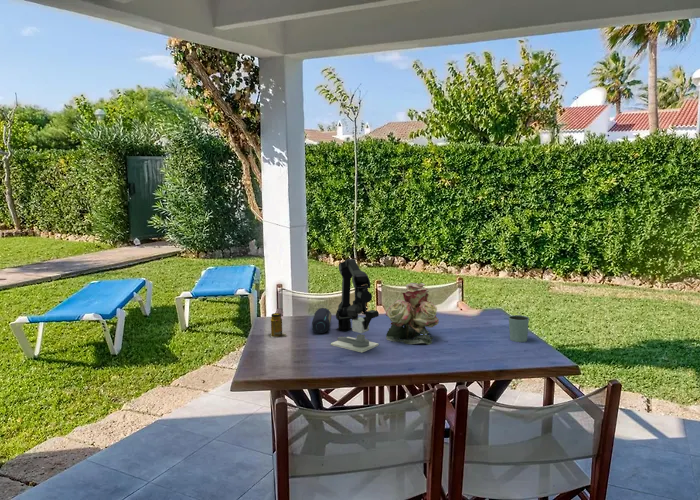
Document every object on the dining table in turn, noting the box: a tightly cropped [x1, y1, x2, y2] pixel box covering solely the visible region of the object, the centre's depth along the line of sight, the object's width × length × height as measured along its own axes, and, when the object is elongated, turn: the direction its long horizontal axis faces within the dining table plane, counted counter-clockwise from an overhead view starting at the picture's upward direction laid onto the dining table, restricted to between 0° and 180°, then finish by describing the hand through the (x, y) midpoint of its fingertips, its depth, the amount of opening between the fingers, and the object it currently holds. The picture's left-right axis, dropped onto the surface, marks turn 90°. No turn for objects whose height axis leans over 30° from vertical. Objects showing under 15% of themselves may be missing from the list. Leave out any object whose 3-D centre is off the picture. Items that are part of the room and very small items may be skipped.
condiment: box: [269, 312, 288, 338], centre depth 292 cm, size 7×8×12 cm
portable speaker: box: [311, 307, 332, 334], centre depth 304 cm, size 25×10×10 cm, turn 179°
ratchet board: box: [330, 333, 379, 354], centre depth 273 cm, size 20×14×6 cm
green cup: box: [508, 314, 530, 343], centre depth 279 cm, size 10×10×12 cm
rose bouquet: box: [385, 282, 440, 346], centre depth 283 cm, size 26×29×30 cm
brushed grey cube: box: [351, 316, 370, 334], centre depth 270 cm, size 6×6×6 cm
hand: (360, 328), depth 270 cm, fingers closed on brushed grey cube, 6 cm apart
